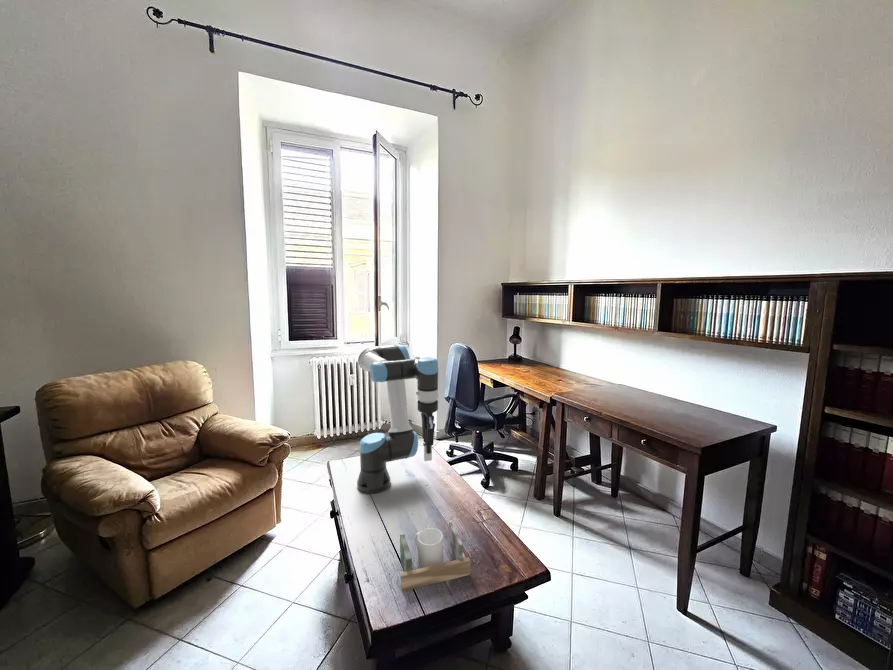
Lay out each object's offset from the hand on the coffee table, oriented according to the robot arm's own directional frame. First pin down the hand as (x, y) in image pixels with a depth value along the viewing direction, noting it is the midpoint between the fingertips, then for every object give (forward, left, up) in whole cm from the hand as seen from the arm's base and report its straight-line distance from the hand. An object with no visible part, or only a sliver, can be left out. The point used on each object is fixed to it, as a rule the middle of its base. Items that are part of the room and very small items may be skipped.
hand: (427, 459), depth 137 cm
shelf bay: (+22, -4, -26) cm, 34 cm away
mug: (+19, -5, -27) cm, 33 cm away
